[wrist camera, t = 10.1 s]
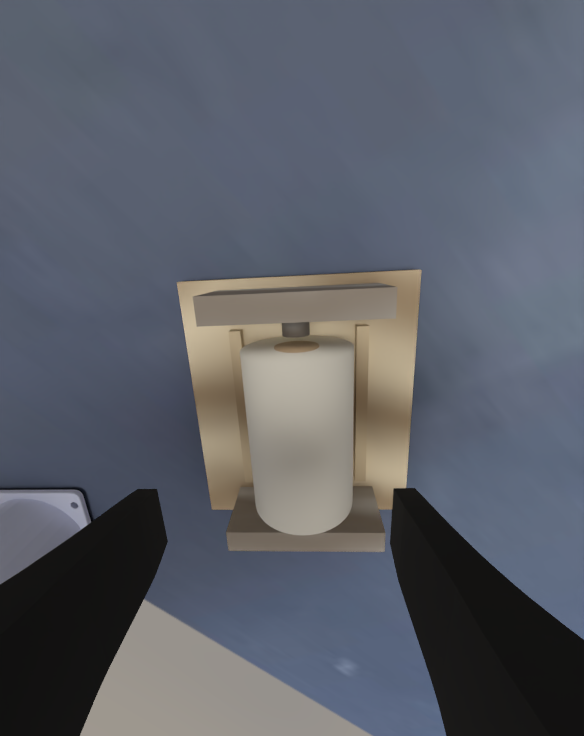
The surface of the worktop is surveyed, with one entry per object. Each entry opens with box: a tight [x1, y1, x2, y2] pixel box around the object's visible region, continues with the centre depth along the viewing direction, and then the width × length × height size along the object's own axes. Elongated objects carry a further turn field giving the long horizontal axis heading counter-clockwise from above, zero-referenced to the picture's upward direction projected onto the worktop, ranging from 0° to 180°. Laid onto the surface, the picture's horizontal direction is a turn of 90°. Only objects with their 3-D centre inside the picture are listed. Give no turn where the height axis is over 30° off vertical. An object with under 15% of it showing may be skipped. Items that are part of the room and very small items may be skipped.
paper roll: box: [240, 335, 354, 535], centre depth 15 cm, size 8×5×5 cm, turn 3°
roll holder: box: [177, 270, 421, 552], centre depth 16 cm, size 14×12×4 cm
